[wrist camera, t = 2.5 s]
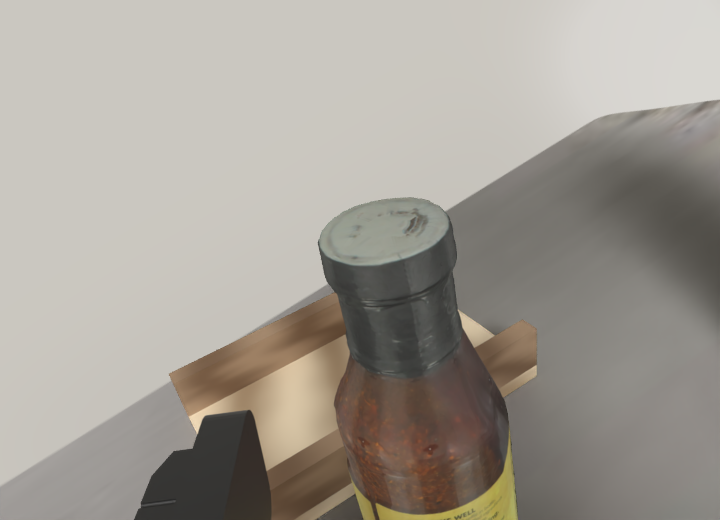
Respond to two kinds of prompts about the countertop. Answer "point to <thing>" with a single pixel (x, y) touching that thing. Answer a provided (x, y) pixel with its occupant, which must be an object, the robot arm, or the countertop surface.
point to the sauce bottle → (413, 372)
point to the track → (314, 396)
